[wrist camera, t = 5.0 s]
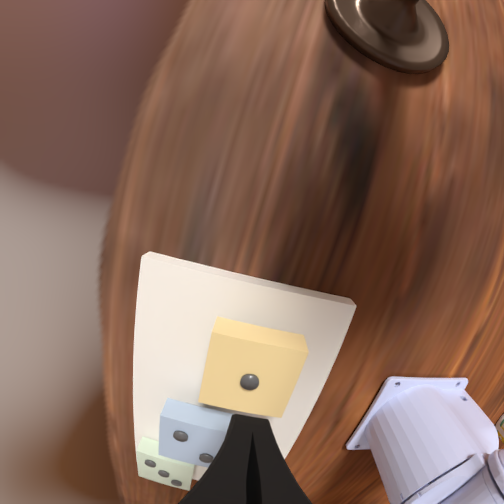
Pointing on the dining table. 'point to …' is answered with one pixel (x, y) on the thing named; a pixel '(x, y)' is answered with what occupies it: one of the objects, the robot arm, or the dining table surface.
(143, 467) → the tile three
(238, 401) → the tile one
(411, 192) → the dining table surface
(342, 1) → the candlestick
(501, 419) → the supplement bottle
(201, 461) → the tile two
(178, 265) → the panel
